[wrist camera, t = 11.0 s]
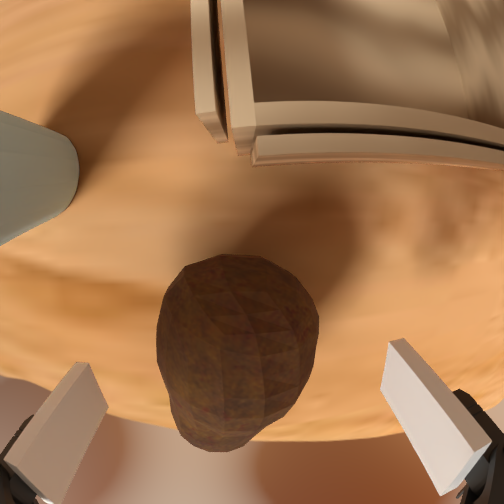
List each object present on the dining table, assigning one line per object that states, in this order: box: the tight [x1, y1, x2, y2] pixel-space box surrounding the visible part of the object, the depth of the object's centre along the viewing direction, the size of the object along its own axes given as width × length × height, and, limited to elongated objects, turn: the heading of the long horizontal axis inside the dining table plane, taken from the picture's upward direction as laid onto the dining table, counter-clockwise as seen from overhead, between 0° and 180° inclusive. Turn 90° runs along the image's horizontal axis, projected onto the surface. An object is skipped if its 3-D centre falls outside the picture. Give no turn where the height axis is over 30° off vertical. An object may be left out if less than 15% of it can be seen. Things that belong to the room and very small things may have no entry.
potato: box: [156, 254, 319, 452], centre depth 13 cm, size 7×10×8 cm
